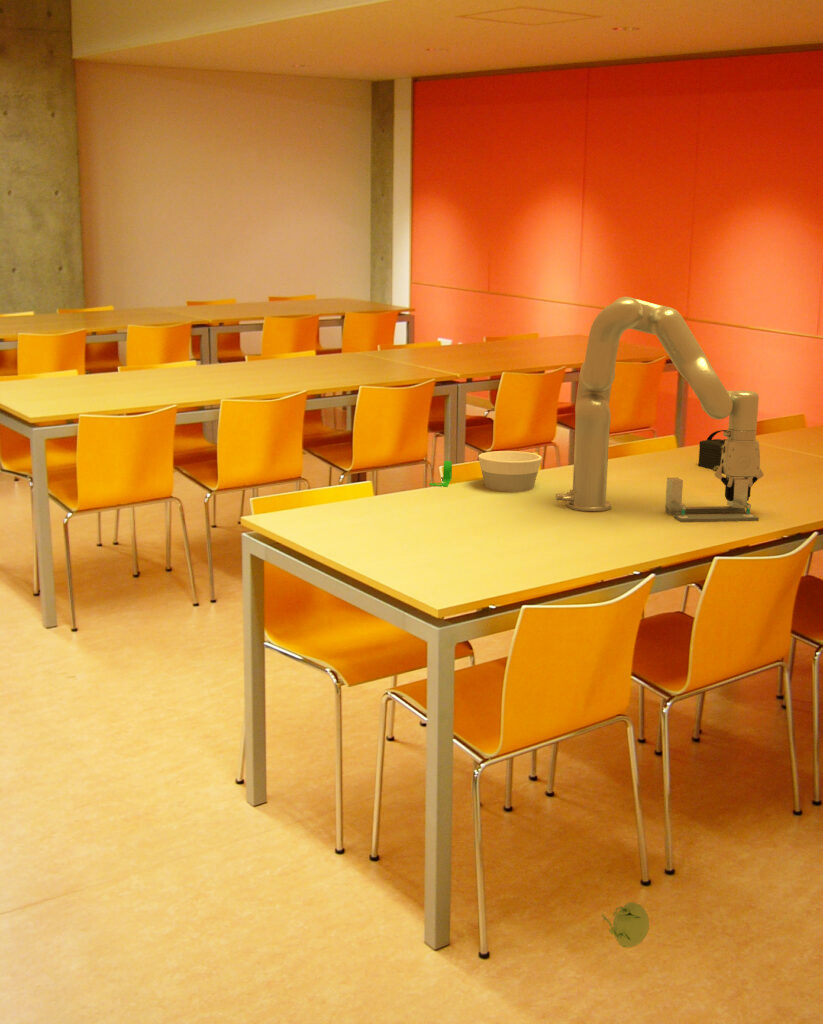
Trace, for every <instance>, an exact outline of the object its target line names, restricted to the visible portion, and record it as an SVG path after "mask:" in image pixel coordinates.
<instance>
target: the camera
mask: <svg viewBox="0 0 823 1024" xmlns="http://www.w3.org/2000/svg"><path fill="white" fill-rule="evenodd" d="M727 430H728V429H724V430H723V429H721V430H716V431H713V432H712V433H710V435H709V436H708V437H707V438H706V440H700V441H699V450H698V453H699V454H698V464H697V466H698V467H701V468H705V469H707V470H712V472H714V473H716V471H717V470H718V468H719V467H720V464H721V456H722V451H723V447H724V443H725V440H728V438H727V439H725V438H724V439H721V438H714V437H715V435H717V434H718V433H721V432H726V431H727Z"/></svg>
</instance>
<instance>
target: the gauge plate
mask: <svg viewBox="0 0 823 1024" xmlns="http://www.w3.org/2000/svg"><path fill="white" fill-rule="evenodd" d="M673 516H674V519H675V520H676V521H679V522H680V523H691V522H692V523H693V522H694V523H696V522H699V523H701V522H702V523H703V522H704V523H705V522H750V521H752V522H758V521H759V520H760V519H759V518H760V517H758V516H757V515H754V514H752V513H750V514H746V513H726V514H685V515H673Z"/></svg>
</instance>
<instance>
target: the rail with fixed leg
mask: <svg viewBox="0 0 823 1024" xmlns="http://www.w3.org/2000/svg"><path fill="white" fill-rule="evenodd" d="M683 483H684V480H683V479H681V478H679V477H677V476H676V477H675V476H674V477H667V478H666V491H665V505H664V506H665V507H664V512H665V513H666V514H668V515H670V516H675V515H707V514H746V508H732V507H730V506H729V505H727V506H724V505H723V506H721V505H719V506H687V505H685V503H682V500H683V499H682V498H683V486H684V485H683Z"/></svg>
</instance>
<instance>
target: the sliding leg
mask: <svg viewBox="0 0 823 1024" xmlns="http://www.w3.org/2000/svg"><path fill="white" fill-rule="evenodd" d="M748 483H749V479H747V478H744V477H734V479H733V482H732V487H733V499H732V501H728V500H726V505H727V506H730V507H732V508H745V514H751V509H752V504H750V503H748V501H747V496H748Z"/></svg>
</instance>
